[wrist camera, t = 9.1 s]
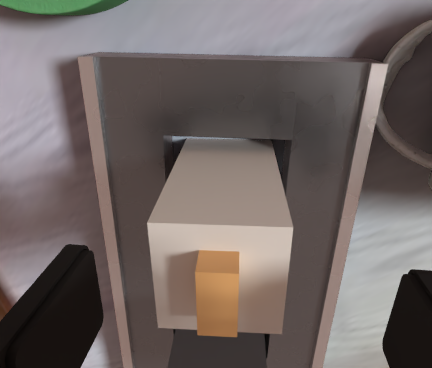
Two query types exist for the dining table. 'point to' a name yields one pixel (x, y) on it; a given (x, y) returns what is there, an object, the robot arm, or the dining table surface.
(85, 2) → the tape roll
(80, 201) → the dining table surface
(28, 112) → the dining table surface
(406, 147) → the ceramic mug
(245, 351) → the matte charcoal box
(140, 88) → the panel
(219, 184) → the white block orange tab
